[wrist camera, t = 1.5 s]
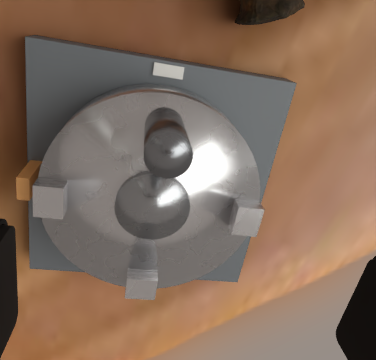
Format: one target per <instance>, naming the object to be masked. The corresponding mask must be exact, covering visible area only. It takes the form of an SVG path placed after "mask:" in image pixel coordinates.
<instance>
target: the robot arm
mask: <svg viewBox="0 0 376 360" xmlns="http://www.w3.org/2000/svg"><path fill="white" fill-rule="evenodd" d="M17 316H18V296H17V268H16V241H15V228H14V227H13V226H8V224H7V221H6V220H5V219H0V358H1V355H2V353H3V351H4V349H5V347H6V344H7V342H8V340H9V338H10V335H11V333H12V331H13V329H14V327H15V324H16V320H17ZM336 338H337V341H338V343H339V345H340V347H341V349H342V350H343V352H344V354H345V355H346V357H347V359H348V360H376V256H375V257H374V258H373V259H372V260H370V261H369V262H368V263H367V266H366V268H365V270H364V272H363V274H362V276H361V278H360V280H359V282H358V285H357V287H356V289H355V291H354V293H353V295H352V297H351V299H350V301H349V303H348V306H347V308H346V310H345V312H344V314H343V316H342V318H341V320H340V323H339V325H338V327H337V329H336Z"/></svg>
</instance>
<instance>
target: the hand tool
mask: <svg viewBox="0 0 376 360" xmlns="http://www.w3.org/2000/svg"><path fill="white" fill-rule="evenodd" d="M240 2H241V4H240V13H239V15H238V16H237V18H236V20H235V23H237V24H242V25H254V24H263V23H267V22H271V21H275V20H279V19H284V18H287V17H288V16H290V15H292V14H294V13H296V12H297V11H298V10H300V9H302V8H304V5H305V4H304V1H303V0H240Z"/></svg>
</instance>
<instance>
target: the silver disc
mask: <svg viewBox="0 0 376 360" xmlns="http://www.w3.org/2000/svg"><path fill="white" fill-rule="evenodd" d="M263 213H264V208H263V206H262V205H261V203H260V178H259V173H258V169H257V164H256V162H255V159H254V157H253V154H252V152H251V150H250V148H249V146H248V145H247V143H246V141H245V140H244V138H243V137H242V136H241V135H240V133H239V132H238V131H237V129H236V128H235V127H234V126H233V124H232V123H231V122H230V120H229V119H228V118H227V117H226V116H225V115H224V114H223V113H222V112H221V111H220V110H219V109H218V108H217V107H215V106H214V105H213V104H211V103H210V102H209V101H207V100H206V99H204V98H202V97H200V96H198V95H196V94H195V93H192V92H189V91H187V90H184V89H181V88H177V87H173V86H169V85H161V84H136V85H130V86H125V87H121V88H118V89H114V90H111V91H108V92H106V93H104V94H102V95H100V96H98V97H96V98H94V99H93V100H91V101H90V102H88V103H87V104H85V105H84V106H83V107H81V108H80V109H79V110H78V111H77V112H76V113H75V114H74V115H73V116H72V117H71V118H70V119H69V121H68V122H67V123H66V124H65V125H64V127H63V128H62V129H61V131H60V132H59V133H58V135H57V136H56V137H55V138H54V140H53V142H52V143H51V145H50V147H49V148H48V150H47V152H46V154H45V156H44V159H43V161H42V164H41V167H40V171H39V175H38V178H37V180H36V181H35V183H34V184H33V217H41V220H42V222H43V225H44V227H45V230H46V232H47V233H48V235H49V237H50V238H51V240H52V242H53V243H54V244H55V246H56V247H57V248H58V249H59V251H60V252H61V253H62V254H63V255H64V256H65V257H66V258H67V259H68V260H69V261H70V262H72V263H73V264H74V265H76V266H77V267H78V268H80V269H81V270H83V271H85V272H86V273H88V274H90V275H92V276H94V277H96V278H98V279H100V280H103V281H106V282H109V283H112V284H115V285H119V286H124V287H126V288H125V298H129V299H147V300H155V295H156V289H157V288H166V287H171V286H176V285H180V284H183V283H187V282H190V281H192V280H195V279H197V278H200V277H202V276H204V275H205V274H207V273H209V272H211V271H213V270H214V269H216V268H217V267H218V266H220V265H221V264H223V263H224V262H225V261H226V260H227V259H228V258H230V257H231V256H232V255H233V254H234V253H235V251H236V250H237V249H238V248H239V247H240V246H241V244H242V243H243V241H244V240H245V239H246V237H247V236H253V237H256V236H257V233H258V229H259V226H260V223H261V220H262V216H263Z"/></svg>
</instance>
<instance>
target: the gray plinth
mask: <svg viewBox="0 0 376 360" xmlns="http://www.w3.org/2000/svg"><path fill="white" fill-rule="evenodd" d="M25 54H26V105H27V156H28V164H27V165H26V166H25V167H24V168H23V170H22V171H21V172H20V173H19V174H18V176H17V177H16V193H17V200H26V201H28V207H29V258H30V269H45V270H60V271H76V272H85V271H83V270H81V269H80V268H78V267H77V266H76V265H74V264H73V263H72V262H70V261H69V260H68V259H67V258H66V257H65V256H64V255H63V254H62V253H61V252H60V251H59V249H58V248H57V247H56V246H55V244H54V243H53V242H52V240H51V238H50V237H49V235H48V233H47V232H46V230H45V227H44V225H43V222H42V220H41V217H33V184H34V183H35V181H36V180H37V178H38V175H39V171H40V167H41V164H42V161H43V159H44V156H45V154H46V152H47V150H48V148H49V147H50V145H51V143H52V142H53V140H54V138H55V137H56V136H57V135H58V133H59V132H60V131H61V129H62V128H63V127H64V125H65V124H66V123H67V122H68V121H69V119H70V118H71V117H72V116H73V115H74V114H75V113H76V112H77V111H78V110H79V109H80V108H81V107H83V106H84V105H85V104H87V103H88V102H90V101H91V100H93V99H94V98H96V97H98V96H100V95H102V94H104V93H106V92H108V91H111V90H114V89H118V88H121V87H125V86H130V85H136V84H161V85H169V86H173V87H177V88H181V89H184V90H187V91H189V92H192V93H195V94H196V95H198V96H200V97H202V98H204V99H206V100H207V101H209V102H210V103H211V104H213V105H214V106H215V107H217V108H218V109H219V110H220V111H221V112H222V113H223V114H224V115H225V116H226V117H227V118H228V119H229V120H230V122H231V123H232V124H233V126H234V127H235V128H236V129H237V131H238V132H239V133H240V135H241V136H242V137H243V138H244V140H245V141H246V143H247V145H248V146H249V148H250V150H251V152H252V154H253V157H254V159H255V162H256V164H257V169H258V173H259V178H260V203H261V201H262V198H263V194H264V191H265V188H266V184H267V181H268V178H269V174H270V171H271V168H272V164H273V161H274V158H275V154H276V151H277V147H278V144H279V141H280V137H281V134H282V131H283V127H284V124H285V121H286V117H287V114H288V111H289V107H290V104H291V100H292V97H293V94H294V90H295V87H296V84H297V83H295V82H293V81H290V80H288V79H285V78H280V77H274V76H268V75H262V74H257V73H251V72H245V71H239V70H234V69H228V68H222V67H216V66H210V65H205V64H199V63H193V62H187V61H182V60H176V59H170V58H164V57H159V56H153V55H147V54H141V53H136V52H130V51H124V50H118V49H113V48H107V47H101V46H95V45H89V44H84V43H78V42H72V41H66V40H61V39H55V38H49V37H43V36H38V35H32V36H26V37H25ZM250 238H251V236H247V237H246V239H245V240H244V241H243V243H242V244H241V246H240V247H239V248H238V249H237V250H236V251H235V253H234V254H233V255H232V256H231V257H230V258H228V259H227V260H226V261H225V262H224V263H223V264H221V265H220V266H218V267H217V268H216V269H214V270H213V271H211V272H209V273H207V274H205V275H204V276H202V277H200V278H197V280H212V281H227V282H238V278H239V275H240V272H241V268H242V265H243V262H244V258H245V255H246V252H247V248H248V245H249V241H250Z"/></svg>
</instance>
